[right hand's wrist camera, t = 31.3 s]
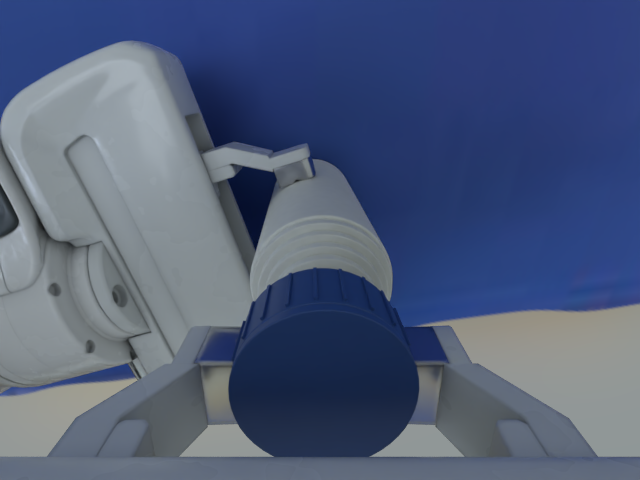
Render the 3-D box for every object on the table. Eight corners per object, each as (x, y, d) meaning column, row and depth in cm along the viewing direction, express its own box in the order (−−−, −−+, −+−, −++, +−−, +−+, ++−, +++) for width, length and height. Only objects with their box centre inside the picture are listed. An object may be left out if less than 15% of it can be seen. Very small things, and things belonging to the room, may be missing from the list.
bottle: (304, 248, 26) (311, 480, 10) (257, 190, 25) (179, 358, 9) (365, 204, 25) (474, 384, 10) (319, 142, 24) (358, 231, 8)
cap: (433, 332, 10) (463, 388, 8) (325, 426, 11) (329, 497, 9) (317, 231, 9) (318, 266, 7) (209, 343, 10) (185, 402, 8)
